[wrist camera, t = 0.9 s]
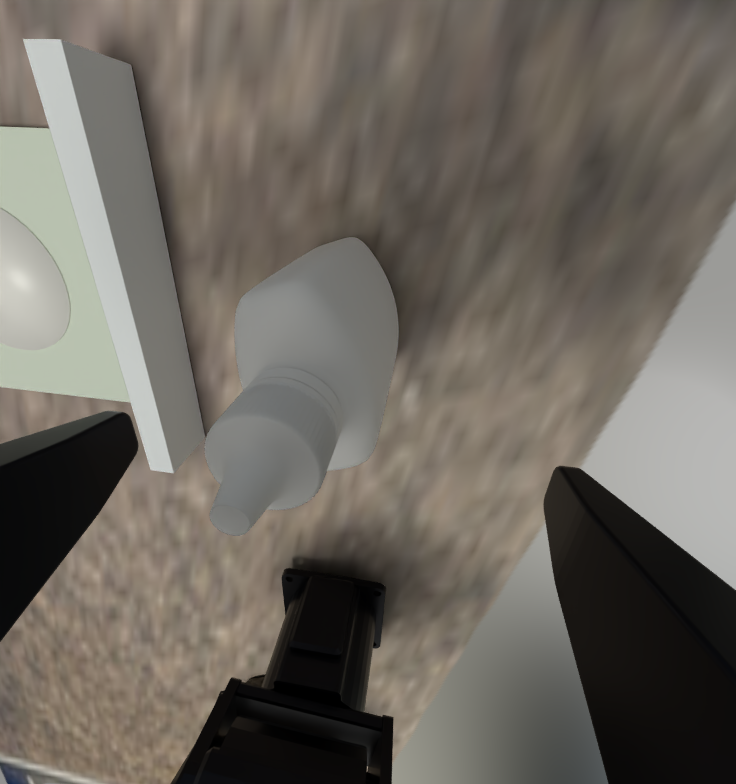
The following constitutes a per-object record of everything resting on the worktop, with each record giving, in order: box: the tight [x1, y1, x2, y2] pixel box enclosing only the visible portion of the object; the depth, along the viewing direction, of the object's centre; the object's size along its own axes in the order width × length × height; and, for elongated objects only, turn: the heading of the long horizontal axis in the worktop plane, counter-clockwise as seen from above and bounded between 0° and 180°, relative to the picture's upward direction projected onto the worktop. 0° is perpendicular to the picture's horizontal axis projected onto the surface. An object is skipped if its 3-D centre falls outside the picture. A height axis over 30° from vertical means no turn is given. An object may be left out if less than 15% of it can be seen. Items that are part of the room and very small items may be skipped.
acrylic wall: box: [23, 39, 205, 473], centre depth 16 cm, size 16×1×3 cm, turn 178°
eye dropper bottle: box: [204, 237, 399, 536], centre depth 12 cm, size 4×6×12 cm
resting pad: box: [0, 127, 130, 402], centre depth 18 cm, size 12×10×1 cm
